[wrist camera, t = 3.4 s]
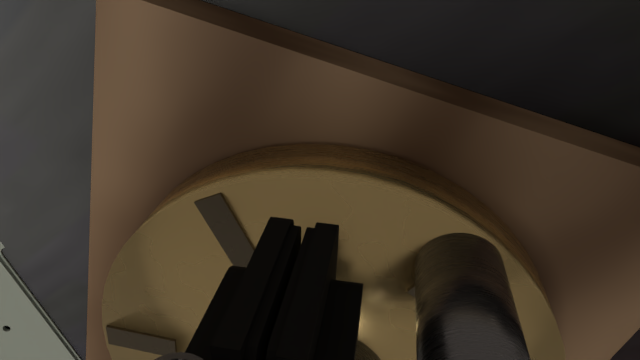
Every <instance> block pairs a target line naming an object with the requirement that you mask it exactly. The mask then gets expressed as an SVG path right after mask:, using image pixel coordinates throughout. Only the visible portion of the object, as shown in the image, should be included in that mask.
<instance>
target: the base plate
mask: <svg viewBox="0 0 640 360" xmlns="http://www.w3.org/2000/svg"><path fill="white" fill-rule="evenodd" d="M293 144H330V145H340V146H347V147H354V148H361V149H367V150H371V151H375V152H379V153H382V154H386V155H390V156H394V157H397V158H401V159H404V160H406V161H409V162H411V163H413V164H416V165H418V166H421V167H423V168H426V169H428V170H431V171H433V172H435V173H437V174H439V175H440V176H442V177H444V178H446V179H448V180H449V181H451V182H453V183H455V184H457V185H458V186H460V187H462V188H463V189H465V190H466V191H467V192H469V193H470V194H472V195H473V196H474V197H476V198H477V199H478V200H480V201H481V202H482V203H484V204H485V205H486V206H488V207H489V208H490V209H491V210H492V211H493V212H494V213H495V214H496V215H497V216H498V217H499V218H500V219H501V220H502V221H503V222H504V223H505V224H506V225H507V226H508V227H509V228H510V229H511V230H512V232H513V233H514V234H515V236H516V237H517V238H518V240H519V241H520V242H521V244H522V245H523V246H524V248H525V249H526V251H527V252H528V254H529V256H530V258H531V260H532V262H533V264H534V266H535V268H536V269H537V271H538V274H539V276H540V279H541V282H542V284H543V287H544V290H545V293H546V295H547V298H548V301H549V303H550V306H551V309H552V311H553V314H554V317H555V320H556V322H557V325H558V329H559V332H560V335H561V338H562V341H563V344H564V348H565V357H566V360H610V359H611V358H612V357H613V355H614V354H615V353H616V352H617V351H618V350H619V349H620V348H621V347H622V346H623V345H624V344H625V343H626V342H627V341H628V340H629V339H630V338H631V337H632V336H633V334H634V333H635V332H636V331H637V330H638V329H639V328H640V147H637V146H634V145H631V144H628V143H625V142H622V141H619V140H616V139H613V138H610V137H607V136H604V135H601V134H598V133H595V132H592V131H589V130H586V129H583V128H580V127H577V126H574V125H571V124H568V123H565V122H562V121H559V120H556V119H553V118H550V117H547V116H544V115H541V114H538V113H535V112H532V111H529V110H526V109H523V108H520V107H517V106H514V105H511V104H508V103H505V102H502V101H499V100H496V99H493V98H490V97H487V96H484V95H481V94H478V93H475V92H472V91H469V90H466V89H463V88H461V87H458V86H455V85H452V84H449V83H446V82H443V81H440V80H437V79H434V78H431V77H428V76H425V75H422V74H419V73H416V72H413V71H410V70H407V69H404V68H401V67H398V66H395V65H392V64H389V63H386V62H383V61H380V60H377V59H374V58H371V57H368V56H365V55H362V54H359V53H356V52H353V51H350V50H347V49H344V48H341V47H338V46H335V45H332V44H329V43H326V42H323V41H320V40H317V39H314V38H311V37H308V36H305V35H302V34H299V33H296V32H293V31H290V30H287V29H284V28H281V27H278V26H275V25H272V24H269V23H266V22H263V21H260V20H257V19H254V18H251V17H248V16H245V15H242V14H239V13H237V12H234V11H231V10H228V9H225V8H222V7H219V6H216V5H213V4H210V3H207V2H204V1H201V0H96V28H95V63H94V99H93V134H92V169H91V204H90V239H89V274H88V309H87V344H86V360H112V358H111V356H110V353H109V350H108V348H107V345H106V340H105V335H104V331H103V326H102V300H103V293H104V286H105V283H106V280H107V277H108V274H109V271H110V269H111V266H112V264H113V262H114V261H115V259H116V257H117V256H118V254H119V252H120V251H121V249H122V247H123V246H124V245H125V243H126V242H127V241H128V240H129V239H130V238H131V236H132V235H133V234H134V233H135V232H136V231H137V230H138V228H139V227H140V226H141V225H142V224H143V223H144V221H145V220H146V219H147V218H148V217H149V216H150V215H151V213H152V212H153V211H154V210H155V209H156V208H157V206H158V205H159V204H160V203H161V202H162V201H163V200H164V199H165V198H166V196H167V195H168V194H169V193H170V192H171V191H172V190H174V189H175V188H176V187H177V186H179V185H180V184H181V183H182V182H184V181H185V180H186V179H187V178H189V177H190V176H192V175H194V174H195V173H197V172H199V171H201V170H202V169H204V168H206V167H208V166H210V165H211V164H213V163H216V162H219V161H221V160H224V159H227V158H229V157H232V156H234V155H237V154H240V153H244V152H249V151H253V150H257V149H262V148H266V147H272V146H283V145H293Z"/></svg>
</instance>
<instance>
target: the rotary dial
mask: <svg viewBox="0 0 640 360" xmlns="http://www.w3.org/2000/svg"><path fill="white" fill-rule="evenodd" d="M270 217H279V218H287V219H293V220H294V225H295V226H301V243H302V240H303V237H304V234H305V231H306V229H307V227H311V228H315V225H316V223H317V222H319V223H327V224H335V225H339V239H338V254H337V270H336V280H341V281H348V282H355V283H363V294H362V303H361V313H360V322H359V330H358V339H357V347H356V355H355V360H566V357H565V348H564V344H563V341H562V338H561V335H560V332H559V329H558V325H557V322H556V320H555V317H554V314H553V311H552V309H551V306H550V303H549V301H548V298H547V295H546V293H545V290H544V287H543V284H542V282H541V279H540V276H539V274H538V271H537V269H536V268H535V266H534V264H533V262H532V260H531V258H530V256H529V254H528V252H527V251H526V249H525V248H524V246H523V245H522V244H521V242H520V241H519V240H518V238H517V237H516V236H515V234H514V233H513V232H512V230H511V229H510V228H509V227H508V226H507V225H506V224H505V223H504V222H503V221H502V220H501V219H500V218H499V217H498V216H497V215H496V214H495V213H494V212H493V211H492V210H491V209H490V208H489V207H488V206H486V205H485V204H484V203H482V202H481V201H480V200H478V199H477V198H476V197H474V196H473V195H472V194H470V193H469V192H467V191H466V190H465V189H463V188H462V187H460V186H458V185H457V184H455V183H453V182H451V181H449V180H448V179H446V178H444V177H442V176H440V175H439V174H437V173H435V172H433V171H431V170H428V169H426V168H423V167H421V166H418V165H416V164H413V163H411V162H409V161H406V160H404V159H401V158H397V157H394V156H390V155H386V154H382V153H379V152H375V151H371V150H367V149H361V148H354V147H347V146H340V145H330V144H293V145H283V146H272V147H266V148H262V149H257V150H253V151H249V152H244V153H240V154H237V155H234V156H232V157H229V158H227V159H224V160H221V161H219V162H216V163H213V164H211V165H210V166H208V167H206V168H204V169H202V170H201V171H199V172H197V173H195V174H194V175H192V176H190V177H189V178H187V179H186V180H185V181H184V182H182V183H181V184H180V185H179V186H177V187H176V188H175V189H174V190H172V191H171V192H170V193H169V194H168V195H167V196H166V198H165V199H164V200H163V201H162V202H161V203H160V204H159V205H158V206H157V208H156V209H155V210H154V211H153V212H152V213H151V215H150V216H149V217H148V218H147V219H146V220H145V221H144V223H143V224H142V225H141V226H140V227H139V228H138V230H137V231H136V232H135V233H134V234H133V235H132V236H131V238H130V239H129V240H128V241H127V242H126V243H125V245H124V246H123V247H122V249H121V251H120V252H119V254H118V256H117V257H116V259H115V261H114V262H113V264H112V266H111V269H110V271H109V274H108V277H107V280H106V283H105V286H104V293H103V300H102V326H103V331H104V335H105V340H106V345H107V348H108V350H109V353H110V356H111V358H112V360H154V359H156V358H158V357H160V356H163V355H166V354H169V353H177V352H185V351H186V349H187V347H188V345H189V343H190V341H191V339H192V337H193V335H194V333H195V331H196V330H197V328H198V326H199V324H200V322H201V320H202V318H203V316H204V314H205V312H206V310H207V308H208V306H209V304H210V302H211V300H212V299H213V297H214V295H215V293H216V291H217V289H218V287H219V285H220V283H221V281H222V279H223V277H224V275H225V273H226V271H227V270H228V268H229V267H230V266H240V267H247V265H248V263H249V261H250V259H251V257H252V255H253V252H254V250H255V248H256V246H257V244H258V242H259V239H260V237H261V235H262V233H263V231H264V229H265V227H266V224H267V222H268V220H269V218H270Z"/></svg>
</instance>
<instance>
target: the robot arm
mask: <svg viewBox="0 0 640 360" xmlns="http://www.w3.org/2000/svg"><path fill="white" fill-rule="evenodd" d="M338 239H339V225H335V224H327V223H319V222H317V223H316V225H315V228H311V227H307V229H306V231H305V234H304V237H303V240H302V243H301V226H295V225H294V220H293V219H287V218H279V217H270V218H269V220H268V222H267V224H266V227H265V229H264V231H263V233H262V235H261V237H260V239H259V242H258V244H257V246H256V248H255V250H254V252H253V255H252V257H251V259H250V261H249V263H248V265H247V267H240V266H230V267H229V268H228V270H227V271H226V273H225V275H224V277H223V279H222V281H221V283H220V285H219V287H218V289H217V291H216V293H215V295H214V297H213V299H212V300H211V302H210V304H209V306H208V308H207V310H206V312H205V314H204V316H203V318H202V320H201V322H200V324H199V326H198V328H197V330H196V331H195V333H194V335H193V337H192V339H191V341H190V343H189V345H188V347H187V349H186V351H185V352H177V353H169V354H166V355H163V356H160V357H158V358H156V359H154V360H355V355H356V347H357V339H358V330H359V322H360V313H361V303H362V294H363V283H355V282H348V281H341V280H336V270H337V254H338Z"/></svg>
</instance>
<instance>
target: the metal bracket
mask: <svg viewBox="0 0 640 360" xmlns="http://www.w3.org/2000/svg"><path fill="white" fill-rule="evenodd" d="M3 248H4V246H3V245H2V243H1V242H0V360H82V359H81V358H80V356H79V355H78V354H77V352H76V351H75V350H74V348H73V347H72V346H71V344H70V343H69V342H68V340H67V339H66V338H65V336H64V335H63V334H62V332H61V331H60V330H59V328H58V327H57V326H56V324H55V323H54V322H53V320H52V319H51V318H50V316H49V315H48V314H47V312H46V311H45V310H44V308H43V307H42V306H41V304H40V303H39V302H38V300H37V299H36V298H35V296H34V295H33V294H32V292H31V291H30V290H29V288H28V287H27V286H26V284H25V283H24V282H23V280H22V279H21V278H20V276H19V275H18V274H17V272H16V271H15V270H14V268H13V267H12V266H11V264H10V263H9V262H8V260H7V259H6V258H5V256H4V255H3V253H2V249H3ZM5 326H9V327H10V329H7V328H6V327H5Z"/></svg>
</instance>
